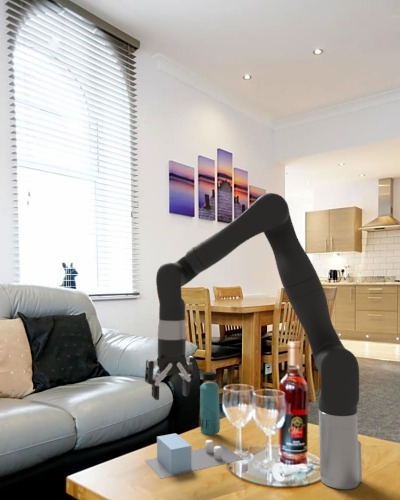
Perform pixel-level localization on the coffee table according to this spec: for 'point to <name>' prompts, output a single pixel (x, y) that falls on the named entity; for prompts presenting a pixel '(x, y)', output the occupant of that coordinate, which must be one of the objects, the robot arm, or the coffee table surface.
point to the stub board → (199, 459)
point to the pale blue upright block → (174, 453)
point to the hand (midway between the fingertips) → (171, 397)
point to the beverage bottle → (209, 405)
